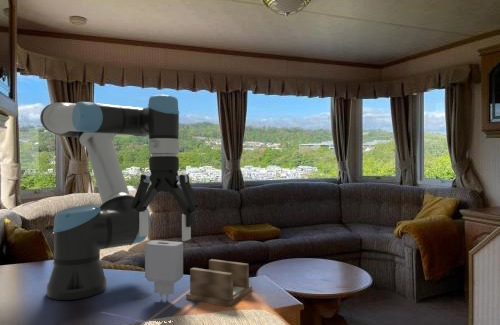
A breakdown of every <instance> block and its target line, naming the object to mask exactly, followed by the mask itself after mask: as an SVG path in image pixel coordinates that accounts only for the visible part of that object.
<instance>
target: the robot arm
mask: <svg viewBox="0 0 500 325" xmlns="http://www.w3.org/2000/svg"><path fill="white" fill-rule="evenodd" d="M179 115H180V111H179V100H178V98H177V97H175V96H172V95H168V94H156V95H154V94H153V95H151V96H150V97H149V98H148V104H147V107H137V106H135V107H133V106H125V105H116V104H115V105H114V104H106V103H100V102H99V103H97V102H94V101H78V102H76V103H75V102H65V101H64V102H62V101H61V102H53V103H50V104H48V105H45V106H44V108H43V109H42V110H41V113H40V114H39V117H40V123H41V126H42V128H44V129H45V130H46V131H47V132H49V133H51V134H53V135H57V136H60V137H66V138H67V137H69V138H78V140H79V143H80V145H81V146H83V148H86V152H87V154H88V158H89V161H90V165H91V168H92V172H93V175H94V179H95V183H96V186H97V189H98V194H99V196H100V201H101V204H100V205H98V204H87V205H86V204H85V205H78V206H73V207H69V208H65V209H63V210H60V211H58V212H57V213H56V214H55V216H54V221H53V222H54V223H53V229H52V231H53V268H52V271H51V274H50V277H49V281H48V284H47V285H46V296H47V297H48V298H49V299H52V300H57V301H58V300H59V301H69V300H78V299H83V298H88V297H92V296H96V295H98V294H100V293H102V292H104V291H105V290H106V289H107V277H106V275H105V271H104V269H103V266H102V263H101V258H100V256H101V253H100V252H101V250H105V249H111V248H112V249H113V248H119V247H124V246H133V245H134V244H140V243H142V242H144V241H145V240H146V239H147V237H148V236H149V232H150V228H151V216H150V211H149V209H148V207H149V206H150V204H151V202H152V201H153V200H154V198H155V196H156V195H157V194H158V193H162V192H163V193H169V194H171V195H172V197H173V198H174V200H175V201H176V203H177V204H178V205H179V207H180V208H181V210H182V211H183V213H182V214H181V242H186V241H189V240H191V238H192V236H191V234H192V230H191V229H192V228H191V227H193V226H194V214H195V213H197V212H200V210H201V206H200V204H199V202H198V200H197V197H196V195H195V192H194V191H193V188H192V186H191V182H190V176H189V174H187V173H186V174H185V173H183V174H179V173H178V172H179V169H180V160H179V159H180V158H179V157H178V155H179V154H180V145H179V144H180V143H179V142H180V138H179V135H180V134H179V132H180V130H179V127H180V126H179V125H180V121H179V120H180V118H179V117H180V116H179ZM116 135H132V136H134V137H146V136H148V154H149V155H150V157H149V158H148V165H149V166H148V170H149V171H150V174H148V173H147V174H146V173H143V174H141V175H140V178H139V185H138V187H137V189H136V191H135V195H132V194H130V191H129V188H128V186H127V182H126V180H125V177H124V176H125V175H124V174H123V171H122V170H123V169H122V167H121V164H120V160H119V158H118V154H117V152H116V147H115V145H114V142H113V141H114V140H115V137H116ZM150 183H151V184H150ZM178 183H179V185H180V186H179V185H178Z"/></svg>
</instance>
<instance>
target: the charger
mask: <svg viewBox="0 0 500 325" xmlns="http://www.w3.org/2000/svg"><path fill="white" fill-rule="evenodd" d="M144 277H145V279H146V280H147V281H148V282H153V283H154V287H153V288H154V293H156V294H159V295H160V297H159V298H160V301H163V295H166V297H165V301H166V302H168V301H169V295H173V294H175V284H176V283H177V282H178V281H180V280H181V279H182V278H183V277H184V241H171V240H170V241H169V240H156V239H155V240H149V241H148V242H145V243H144Z"/></svg>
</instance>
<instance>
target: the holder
mask: <svg viewBox="0 0 500 325" xmlns="http://www.w3.org/2000/svg"><path fill="white" fill-rule="evenodd" d="M249 268H250V264H249V263H245V262H244V263H243V262H237V261H229V260H224V259H223V260H221V259H214V258H211V259H209V260H208V269H204V268H199V267H192V268H190V269H189V284H190V285H189V292H188V293H186V297H185V299H186V300H192V301H196V302H202V303H206V304H213V305H218V306H224V307H228V308H230V307H232V306H233V305H234V304H236V303H238V301H240V300H241V299H242V298H244V297H245V296H247V295H248V294H249V293H250V292H252V291H253V285H250V280H249V279H250V276H249V274H250V273H249V272H250V269H249Z"/></svg>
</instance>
